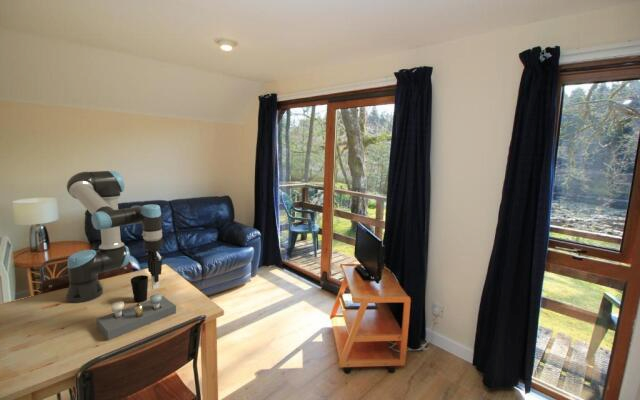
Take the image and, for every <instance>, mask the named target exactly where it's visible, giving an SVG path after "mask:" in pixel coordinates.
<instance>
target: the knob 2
mask: <svg viewBox="0 0 640 400" xmlns="http://www.w3.org/2000/svg"><path fill="white" fill-rule="evenodd" d="M162 296H163V295H162V294H159V293H156V294H155V293H154V294H152V295H150V297H149V300H150V303H151V304H153V310H157V309H160V306H159V303H160V302H161V301H162Z"/></svg>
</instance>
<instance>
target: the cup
mask: <svg viewBox="0 0 640 400" xmlns="http://www.w3.org/2000/svg"><path fill="white" fill-rule="evenodd" d="M130 285H131V291H132V293H133V301H134V303H136V304H138V303H143V302H146V301H148V286H149V276H148V275H146V274H145V275H144V274H141V275H136V276H133V277H131V278H130Z"/></svg>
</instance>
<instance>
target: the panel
mask: <svg viewBox="0 0 640 400" xmlns="http://www.w3.org/2000/svg"><path fill="white" fill-rule="evenodd" d="M141 304H142V308H143V316H142V317H139V318H137V317H136V314H135V305H136V304H134V305H131V306H130V307H129V306H128V307H126V308H124V309H123V310H122V317H120V318H117V319H115V312H111V313H108V314H106V315H103V316H100V317H98V318H96V327H97V329H98V330H99V332H101V333H102V336H105V338H106V340H107V341H110V340H113V339H116V338H119V337H120V336H123V335H125V334H128V333H131V332H133V331H135V330H138V329H140V328H143V327H145V326H147V325H150V324H152V323H155V322H158V321H160V320H162V319H165V318H168V317H169V316H172V315H175V314H177V304H175V303H173V302H172V301H171V300H169V299H168V298H166V297H165V296H164V295H162V301H161V302H160V303H159V306H160V309H157V310H153V304H151V303H150V299H149V300H146V301H144V302H141Z"/></svg>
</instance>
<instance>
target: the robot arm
mask: <svg viewBox="0 0 640 400" xmlns="http://www.w3.org/2000/svg"><path fill="white" fill-rule="evenodd" d="M66 183H67V184H66V190H67V192H68V194H69V195H70V196H71V197H72V198H74V199H75V200H76V199H77V200H78V201H79V202H80V204H82V206H83V207H84V208H85V209H86V210H87V211H88V213H90V214H91V217H90V218H91V224H92V226H93V229H95V230H97V231H98V230H100V236H101V237H100V238H101V239H100V240H101V244H100V245H99V246H98V251H96V250H94V249H84V250H80V251H77V252H75V253H73V254H71V255H69V256H68V258H67V270H68V279H69V280H68V281H69V282H68V283H69V285H68V289H67V293H66V297H65V298H66V301H67V303H73V304H74V303H76V304H77V303H78V304H79V303H85V302H90V301H92V300H94V299H95V300H96V299H97V298H99V297H101V296H102V295H103V294H104V287H103V286H102V284H101V282H100V280H99V274H102V273H105V272H109V271H115V270H118V269H121V268H123V267H127V265H128V264H129V263H130V258H131V252H130V248H129V247H128V246H127V245H125V243H124V242H122V240H121V239H122V237H121V230H120V229H121V228H120V227H125V226H129V225H136V224H141V225H142V233H141V236H142V239H143V240H142V241H143V244H142V245H143V248H144V249H145V251H144V254H145V258H146V262H147V269H148V272H149V273H150V278H151V279H150V280H151V289H152V290H155V289H158V288H160V275H162V268H163V266H162V265H163V260H164V259H163V258H164V256H163V255H161V250H160V248H162V247H163V228H162V211H161V206H160V205H158V204H153V203H152V204H151V203H150V204H144V205H142V206H141V205H132V206H130V207H127V208H120V209H119V205H118V203H119V202H118V199H119V198H120V197H121V193H123V192H124V190H125V182H124V179H123V177H122V175H121V173H119V172H118V171H116V170H101V171H100V170H99V171H80V172H78V173H76V174H74V175H72V176H71V177H70V178H69V180H68V181H67V182H66Z"/></svg>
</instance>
